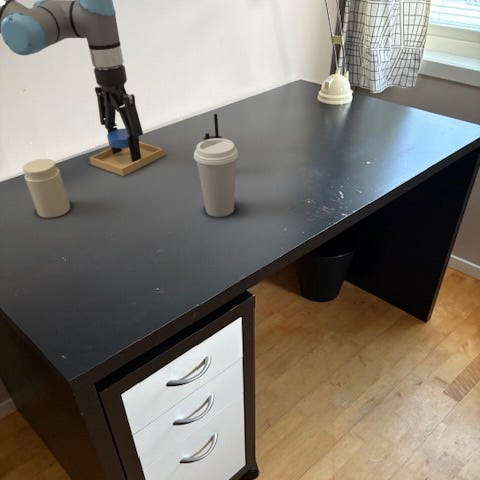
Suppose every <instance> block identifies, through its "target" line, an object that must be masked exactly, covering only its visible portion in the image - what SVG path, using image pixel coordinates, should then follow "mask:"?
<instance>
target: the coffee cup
mask: <svg viewBox="0 0 480 480" xmlns="http://www.w3.org/2000/svg"><path fill="white" fill-rule="evenodd" d="M203 140H204V139H203ZM203 140H201V141H200V142H198V143H197V145H196V149H195V150H194V152H193V159H194V161H196V165H197V170H198V177H199V180H200V185H201V192H202V196H203V203H204V208H205V212H206V213H207V215H209V216H211V217H216V218H223V217H227V216H229V215H231V214H232V213H233V212H234V211H235V197H236V175H237V174H236V173H237V159H238V158H239V150H238V149H237V147H236V146H235V143H234V142H233V141H232V140H230V139H226V138H222V139H221V138H214V139H208V140H204V141H203Z"/></svg>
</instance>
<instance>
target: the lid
mask: <svg viewBox="0 0 480 480" xmlns="http://www.w3.org/2000/svg"><path fill="white" fill-rule="evenodd" d="M106 136H107V137H106V138H107V142H108V146H110V148H111V147H114V148H127V147H129V144H128V139H127V137H129V135H128V133H127V130H126V128H125V127H124V128H117V130H114V131H111V132H110V133H108V132H107V135H106ZM138 140H139V141H140V136H138Z"/></svg>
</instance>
